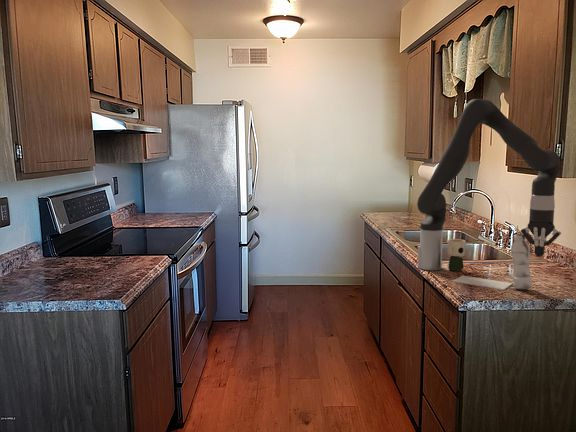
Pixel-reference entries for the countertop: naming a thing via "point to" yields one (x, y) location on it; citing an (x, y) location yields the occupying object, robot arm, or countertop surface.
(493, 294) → the countertop surface
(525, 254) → the plastic bottle
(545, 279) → the countertop surface
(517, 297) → the countertop surface
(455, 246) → the character mug
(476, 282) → the mat
